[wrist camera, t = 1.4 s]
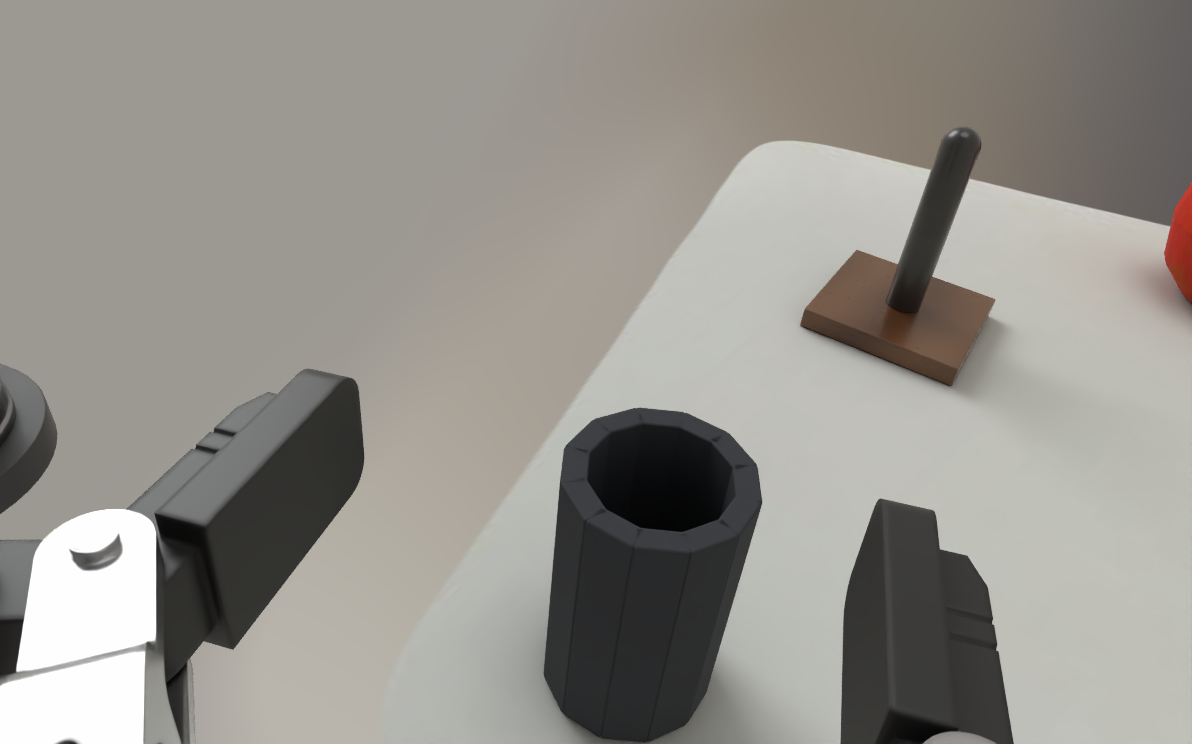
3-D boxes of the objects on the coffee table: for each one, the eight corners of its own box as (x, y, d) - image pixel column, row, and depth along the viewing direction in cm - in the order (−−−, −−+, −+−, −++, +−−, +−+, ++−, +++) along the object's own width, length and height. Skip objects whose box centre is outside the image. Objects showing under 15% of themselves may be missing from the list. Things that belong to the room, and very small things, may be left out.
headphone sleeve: (512, 680, 31) (521, 486, 25) (601, 573, 35) (628, 384, 29) (655, 775, 29) (704, 586, 23) (733, 649, 33) (792, 461, 27)
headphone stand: (799, 325, 51) (855, 128, 44) (851, 265, 57) (908, 83, 50) (950, 386, 48) (1040, 183, 40) (988, 315, 54) (1071, 127, 46)
